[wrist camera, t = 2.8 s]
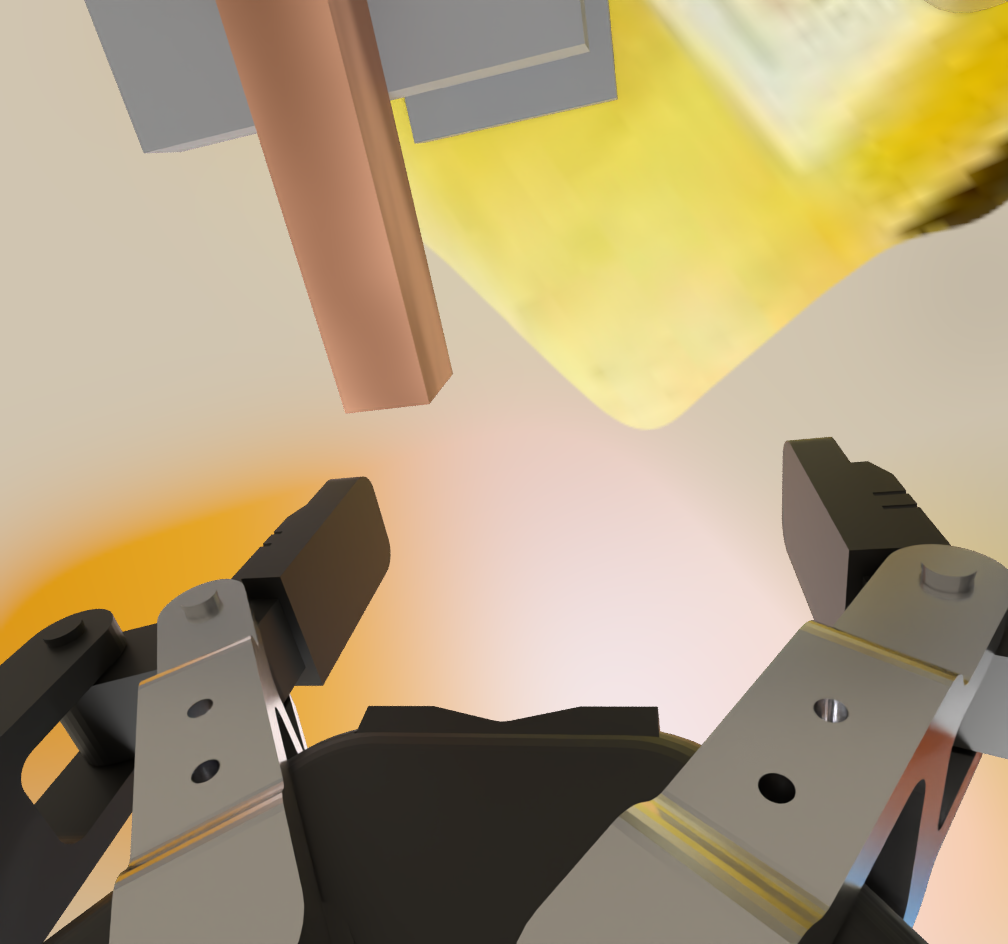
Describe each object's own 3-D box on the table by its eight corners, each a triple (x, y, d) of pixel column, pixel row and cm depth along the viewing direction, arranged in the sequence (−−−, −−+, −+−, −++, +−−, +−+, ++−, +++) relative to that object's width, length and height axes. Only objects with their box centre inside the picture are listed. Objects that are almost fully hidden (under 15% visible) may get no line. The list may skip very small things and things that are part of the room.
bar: (230, -594, 14) (134, -765, 11) (453, 373, 23) (429, 404, 21) (117, -529, 14) (2, -675, 12) (377, 383, 24) (345, 413, 21)
